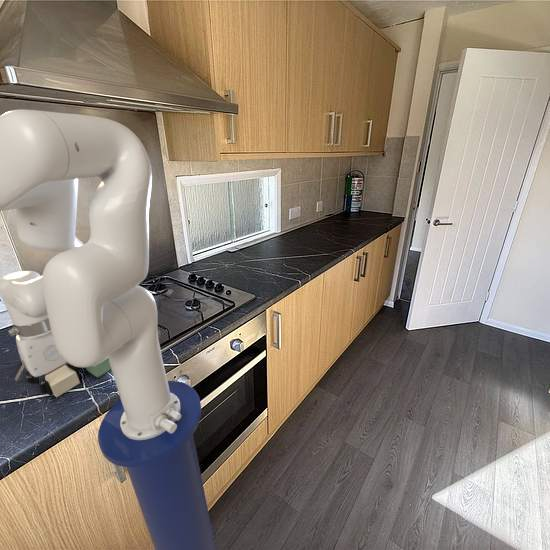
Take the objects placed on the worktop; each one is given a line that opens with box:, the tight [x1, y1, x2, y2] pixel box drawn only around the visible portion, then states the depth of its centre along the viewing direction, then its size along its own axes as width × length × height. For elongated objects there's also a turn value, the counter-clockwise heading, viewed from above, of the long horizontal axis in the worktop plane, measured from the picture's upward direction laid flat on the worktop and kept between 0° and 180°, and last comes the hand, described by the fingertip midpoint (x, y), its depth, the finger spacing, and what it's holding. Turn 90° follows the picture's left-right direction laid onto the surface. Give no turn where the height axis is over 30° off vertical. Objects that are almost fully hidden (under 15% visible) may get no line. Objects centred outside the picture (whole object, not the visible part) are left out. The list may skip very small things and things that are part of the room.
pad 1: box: [45, 365, 81, 398], centre depth 74 cm, size 6×6×4 cm
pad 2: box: [85, 356, 111, 378], centre depth 80 cm, size 6×6×4 cm
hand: (62, 384), depth 74 cm, fingers closed on pad 1, 5 cm apart
